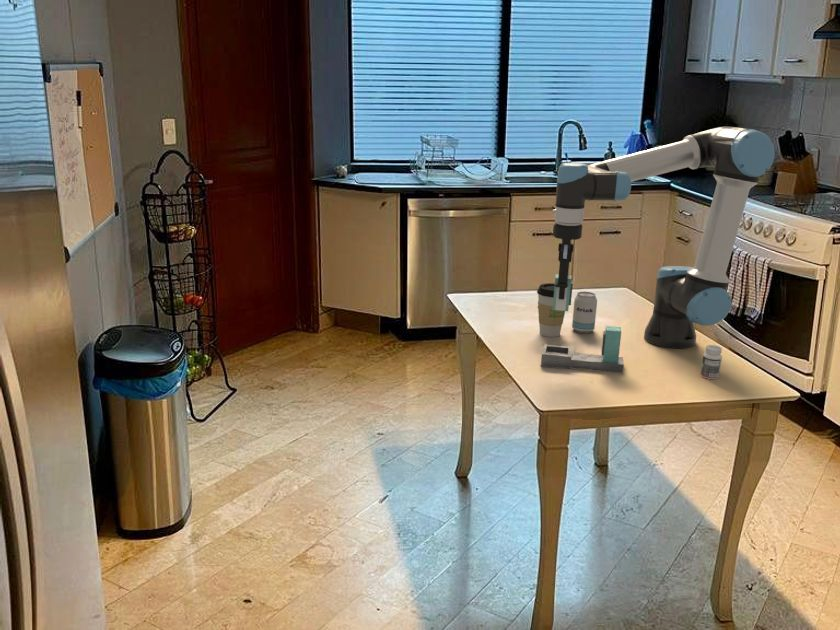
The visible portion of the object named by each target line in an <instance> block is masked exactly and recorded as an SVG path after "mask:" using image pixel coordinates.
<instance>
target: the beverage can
mask: <svg viewBox="0 0 840 630" xmlns="http://www.w3.org/2000/svg"><path fill="white" fill-rule="evenodd" d="M597 306H598V298H597V296H596V293H594V292H591V291H578V292H577V294H576V295H575V297H574V301H573V310H572V311H573V312H572V323H571V328H572V329H573V330H575V332H577V333H579V334H590V333H592V331H594V330H595V329H596V328H595V327H596V319H597V318H596V317H597V308H598V307H597Z"/></svg>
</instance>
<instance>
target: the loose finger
mask: <svg viewBox="0 0 840 630" xmlns="http://www.w3.org/2000/svg"><path fill="white" fill-rule="evenodd" d="M572 277H573V276H572V274H568V282H567V284H568V288H567V299H566V310H565V312H569V309H570V306H571V305H572V295H573V285H574V284H573V283H574V280H572ZM558 278H559V273H556V274H555V277H554V284H555V285H557V283H558ZM556 296H557V287H554V299H553V310H555V307H556ZM558 311H560V310H558Z"/></svg>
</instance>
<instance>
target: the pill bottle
mask: <svg viewBox="0 0 840 630" xmlns="http://www.w3.org/2000/svg"><path fill="white" fill-rule="evenodd" d="M722 350H723V348H722V347H721V346H718V345H713V344H709V345H706V346H705V350H704V351H705V352H704V353H703V355H702V361H701V368H700V369H701V370H700V376H701V377H702V378H704V379H706V378H707V380H718V379H719V377H720V372H721V366H722V361H723V360H722V359H723V357H722V356H723V355H722Z"/></svg>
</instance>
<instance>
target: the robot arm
mask: <svg viewBox="0 0 840 630" xmlns="http://www.w3.org/2000/svg"><path fill="white" fill-rule="evenodd" d="M774 160H775V145H774V143H773V141H772V140H771V138H770V137H769V136H768V135H767V134H766V133H764V132H762V131H759V130H757V129H753V128H745V127H744V128H743V127H735V126H729V125H727V126H719V127H714V128H710V129H707V130H706V129H705V130H704V131H700V132H699V131H698V132H697V133H694V134H689V135H686V136H684V137H683V139H682V140H680V141H676V142H672V143H669V144H664V145H661V146H657V147H653V148H649V149H647V150H645V149H644V150H641V151H637V152H634V153H631V154H626V155H623V156H618V157H615V158H611V159H607V160H603V161H599V162H594V163H592V164H589V163H578V162H565V163H561V164H560V166H558V171H557V178H556V190H555V191H556V193H555V205H554V206H555V207H554V208H555V209H552V213H553V214H554V221H555V222H554V223H553V228H552V229H553V230H552V236H553V238H555V239H559V240H562V241H561V242H558V249H557V250H558V260H557V261H559V268H558V274H559V278H558V283H557V285H555V287H557V296H556V307H555V310H560V311H565V310H566V299H567V288H568V284H567V282H568V275H569V271H570V270H569V269H570V263H571V262H572V258H573V252H574V245H575V244H574V243H572V240H575V241H576V240H579V239H581V238H582V235H583V233H582V232H583V225H582V223H584V216H585V215H584V214H585V203H586V201H613V202H616V201H624V200H626V199H627V198H628V197H629V196H630V194H631V190H632V183H633V182H634V181H635V182H636V181H639V180H642V179H648V178H651V177H656V176H659V175H663V174H667V173H670V172H674V171H679V170H682V169H686V168H689V169H691V170H697V169H700V168H713V169H714V171H713V174H712V176H713V178H714V179H715V181H716V185H715V189H714V193H713V196H712V197H713V198H712V201H711V204H710V208H709V211H708V215H707V219H706V222H705V226H704V229H703V233H702V236H701V237H702V238H701V240H700V244H699V247H698V252H697V256H696V259H695V261H694V262H695V263H694V265H693V267H692V266H683V265H681V266H680V265H677V266H676V265H667V266H662V267H660V268H659V269H658V272H657V276H656V283H655V285H656V286H655V292H654V293H655V294H654V299H653V300H654V301H653V309H652V315H651V316H650V319H649V321H648V323H647V325H646V327H645V329H644V333H643V334H644V335H643V338H644V340H645V341H646V342H648V343H650V344H652V345H654V346H657V347H662V348H668V349H669V348H670V349H688V348H692V347H694V346H695V345H696V342H697V333H696V326H695V324H698V325H700V326H703V327H706V326H707V327H709V326H713V325H714V326H715V325H716V324H718V323H720V322H721V321H723V320H724V319H725V318H726V317H727V316H728V314H729V312H730V311H731V308H732V302H733V301H732V298H731V295H730V293H729V292H728V287H729V284H730V279H729V277H728V275H727V269H728V266H729V263H730V260H731V256H732V253H733V250H734V245H735V242H736V238H737V235H738V233H739V228H740V224H741V221H742V217H743V214H744V211H745V207H746V205H747V201H748V197H749V193H750V190H751V188H754V186H756V185H758V183H759V179H760V176H762V175H764V174H765V173H766V172H767V171H769V170H770V169H771V167H772V165H773V163H774ZM565 312H566V311H565Z"/></svg>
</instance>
